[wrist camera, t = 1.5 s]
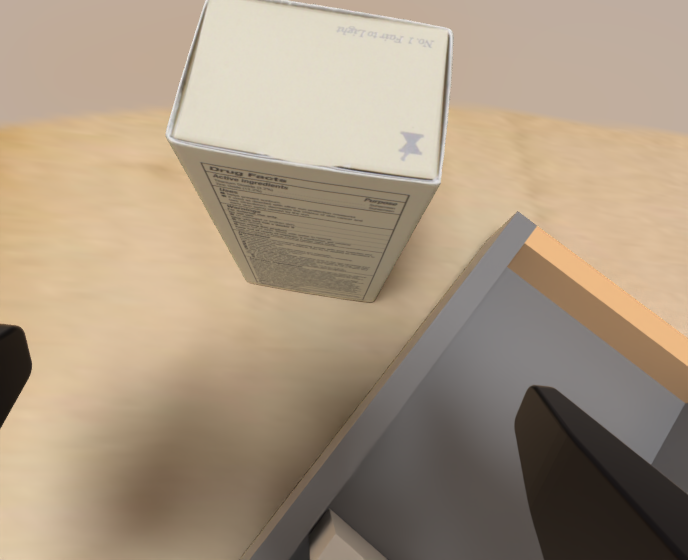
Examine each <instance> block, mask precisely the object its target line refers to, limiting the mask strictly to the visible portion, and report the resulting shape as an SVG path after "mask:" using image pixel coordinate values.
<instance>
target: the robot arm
mask: <svg viewBox="0 0 688 560" xmlns="http://www.w3.org/2000/svg"><path fill="white" fill-rule="evenodd" d="M31 370H32V361H31V357H30V353H29V349H28V344H27V340H26V336H25V333H24V331H23V329H22V328H21V327H19V326H16V325H8V324H0V428H1V427H2V425H3V423H4V421H5V420H6V418H7V416H8V414H9V412H10V411H11V409H12V407H13V405H14V404H15V402H16V400H17V398H18V396H19V395H20V393H21V391H22V389H23V387H24V386H25V384H26V382H27V380H28V379H29V376H30V374H31ZM514 430H515V436H516V441H517V447H518V452H519V457H520V463H521V468H522V474H523V479H524V485H525V490H526V496H527V500H528V505H529V510H530V514H531V517H532V521H533V525H534V528H535V531H536V535H537V538H538V541H539V545H540V548H541V552H542V555H543V558H544V560H688V494H687V493H686V492H684V491H683V490H682V489H681V488H679V487H678V486H677V485H676V484H674V483H673V482H672V481H671V480H669V479H668V478H667V477H666V476H664V475H663V474H662V473H661V472H659V471H658V470H657V469H656V468H654V467H653V466H652V465H651V464H649V463H648V462H647V461H646V460H644V459H643V458H642V457H641V456H639V455H638V454H637V453H636V452H634V451H633V450H632V449H631V448H629V447H628V446H627V445H626V444H624V443H623V442H622V441H621V440H619V439H618V438H617V437H616V436H614V435H613V434H612V433H611V432H609V431H608V430H607V429H606V428H604V427H603V426H602V425H601V424H599V423H598V422H597V421H596V420H594V419H593V418H592V417H591V416H589V415H588V414H587V413H586V412H584V411H583V410H582V409H581V408H579V407H578V406H577V405H576V404H574V403H573V402H572V401H571V400H569V399H568V398H567V397H566V396H564V395H563V394H562V393H561V392H559V391H558V390H557V389H555V388H553V387H550V386H541V385H531V386H530V387H529V388H528V389H527V391H526V393H525V395H524V398H523V400H522V402H521V405H520V407H519V409H518V412H517V414H516V417H515V422H514Z"/></svg>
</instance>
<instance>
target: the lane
mask: <svg viewBox="0 0 688 560" xmlns="http://www.w3.org/2000/svg"><path fill="white" fill-rule="evenodd" d="M531 385H541V386H550V387H553V388H555V389H557V390H558V391H559V392H561V393H562V394H563V395H564V396H566V397H567V398H568V399H569V400H571V401H572V402H573V403H574V404H576V405H577V406H578V407H579V408H581V409H582V410H583V411H584V412H586V413H587V414H588V415H589V416H591V417H592V418H593V419H594V420H596V421H597V422H598V423H599V424H601V425H602V426H603V427H604V428H606V429H607V430H608V431H609V432H611V433H612V434H613V435H614V436H616V437H617V438H618V439H619V440H621V441H622V442H623V443H624V444H626V445H627V446H628V447H629V448H631V449H632V450H633V451H634V452H636V453H637V454H638V455H639V456H641V457H642V458H643V459H644V460H646V461H647V462H648V463H649V464H651V465H652V466H653V467H654V468H656V469H657V470H658V471H659V472H661V473H662V474H663V475H664V476H666V477H667V478H668V479H669V480H671V481H672V482H673V483H674V484H676V485H677V486H678V487H679V488H681V489H682V490H683V491H684V492H686V493H687V494H688V338H687V337H685V336H684V335H683V334H681V333H680V332H679V331H677V330H676V329H675V328H673V327H672V326H671V325H669V324H668V323H667V322H665V321H664V320H663V319H661V318H660V317H659V316H657V315H656V314H655V313H653V312H652V311H651V310H649V309H648V308H647V307H645V306H644V305H643V304H641V303H640V302H638V301H637V300H636V299H634V298H633V297H632V296H630V295H629V294H628V293H626V292H625V291H624V290H622V289H621V288H620V287H618V286H617V285H616V284H614V283H613V282H612V281H610V280H609V279H608V278H606V277H605V276H604V275H602V274H601V273H600V272H598V271H597V270H596V269H594V268H593V267H592V266H590V265H589V264H588V263H586V262H585V261H584V260H582V259H581V258H580V257H578V256H577V255H576V254H574V253H573V252H572V251H570V250H569V249H568V248H566V247H565V246H564V245H562V244H561V243H560V242H558V241H557V240H556V239H554V238H553V237H552V236H550V235H549V234H548V233H546V232H545V231H543V230H542V229H541V228H539V227H538V226H537V225H535V224H534V223H533V222H531V221H530V220H529V219H527V218H526V217H525V216H523V215H522V214H521V213H519V212H518V211H517V212H516V213H515V214H514V215H513V216H512V217H511V218H510V219H509V220H508V221H507V222H506V223H505V224H504V225H503V226H502V227H501V228H500V229H499V230H497V231H496V232H495V233H494V234H493V235H492V236H491V237H490V238H489V239H488V240H487V241H486V242H485V244H484V245H483V246H482V247H481V249H480V250H479V251H478V253H477V254H476V255H475V257H474V258H473V259H472V260H471V262H470V263H469V264H468V266H467V267H466V268H465V269H464V271H463V272H462V273H461V275H460V276H459V277H458V278H457V280H456V281H455V282H454V284H453V285H452V286H451V287H450V289H449V290H448V291H447V293H446V294H445V295H444V296H443V298H442V299H441V300H440V302H439V303H438V304H437V305H436V307H435V308H434V309H433V311H432V312H431V313H430V314H429V316H428V317H427V318H426V320H425V321H424V322H423V324H422V325H421V326H420V327H419V329H418V330H417V331H416V333H415V334H414V335H413V336H412V338H411V339H410V340H409V342H408V343H407V344H406V345H405V347H404V348H403V349H402V351H401V352H400V353H399V354H398V356H397V357H396V358H395V360H394V361H393V362H392V363H391V365H390V366H389V367H388V369H387V370H386V371H385V372H384V374H383V375H382V376H381V378H380V379H379V380H378V381H377V383H376V384H375V385H374V387H373V388H372V389H371V391H370V392H369V393H368V394H367V396H366V397H365V398H364V400H363V401H362V402H361V403H360V405H359V406H358V407H357V409H356V410H355V411H354V412H353V414H352V415H351V416H350V418H349V419H348V420H347V421H346V423H345V424H344V425H343V427H342V428H341V429H340V430H339V432H338V433H337V434H336V436H335V437H334V438H333V439H332V441H331V442H330V443H329V445H328V446H327V447H326V448H325V450H324V451H323V452H322V454H321V455H320V456H319V458H318V459H317V460H316V461H315V463H314V464H313V465H312V467H311V468H310V469H309V470H308V472H307V473H306V474H305V476H304V477H303V478H302V479H301V481H300V482H299V483H298V485H297V486H296V487H295V488H294V490H293V491H292V492H291V494H290V495H289V496H288V497H287V499H286V500H285V501H284V503H283V504H282V505H281V506H280V508H279V509H278V510H277V512H276V513H275V514H274V516H273V517H272V518H271V519H270V521H269V522H268V523H267V525H266V526H265V527H264V528H263V530H262V531H261V532H260V534H259V535H258V536H257V537H256V539H255V540H254V541H253V543H252V544H251V545H250V546H249V548H248V549H247V550H246V552H245V553H244V554H243V555H242V557H241V558H240V559H239V560H310V550H309V535H310V533H311V532H312V531H313V529H314V528H315V527H316V525H317V524H318V523H319V521H320V520H321V519H322V517H323V516H324V515H325V513H326V512H327V510H328V509H329V508H330V509H331V510H332V511H333V512H334V513H335V514H337V515H338V516H339V517H340V518H341V519H342V520H343V521H344V522H346V523H347V524H348V525H349V526H350V527H351V528H352V529H354V530H355V531H356V532H357V533H358V534H359V535H360V536H361V537H363V538H364V539H365V540H366V541H367V542H368V543H369V544H371V545H372V546H373V547H374V548H375V549H376V550H377V551H378V552H380V553H381V554H382V555H383V556H384V557H385V558H386V559H388V560H544V558H543V555H542V552H541V548H540V545H539V541H538V538H537V535H536V531H535V528H534V525H533V521H532V517H531V514H530V510H529V505H528V500H527V496H526V490H525V485H524V479H523V474H522V468H521V463H520V457H519V452H518V447H517V441H516V436H515V430H514V422H515V417H516V414H517V412H518V409H519V407H520V405H521V402H522V400H523V398H524V395H525V393H526V391H527V389H528V388H529V387H530V386H531Z"/></svg>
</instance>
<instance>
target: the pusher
mask: <svg viewBox="0 0 688 560" xmlns="http://www.w3.org/2000/svg"><path fill="white" fill-rule="evenodd" d="M309 550H310V560H388V559H386V558H385V557H384V556H383V555H382V554H381V553H380V552H378V551H377V550H376V549H375V548H374V547H373V546H372V545H371V544H369V543H368V542H367V541H366V540H365V539H364V538H363V537H361V536H360V535H359V534H358V533H357V532H356V531H355V530H354V529H352V528H351V527H350V526H349V525H348V524H347V523H346V522H344V521H343V520H342V519H341V518H340V517H339V516H338V515H337V514H335V513H334V512H333V511H332V510H331V509H330V508H329V509H328V510H327V512H326V513H325V515H324V516H323V517H322V519H321V520H320V521H319V523H318V524H317V525H316V527H315V528H314V529H313V531H312V532H311V533H310V535H309Z"/></svg>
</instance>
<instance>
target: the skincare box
mask: <svg viewBox="0 0 688 560" xmlns="http://www.w3.org/2000/svg"><path fill="white" fill-rule="evenodd" d="M453 39H454V37H453V32H452V31H451V29H448V28H445V27H440V26H434V25H429V24H425V23H419V22H414V21H410V20H405V19H399V18H391V17H386V16H381V15H373V14H367V13H363V12H356V11H350V10H345V9H340V8H331V7H324V6H319V5H315V4H307V3H300V2H294V1H288V0H205V3H204V6H203V10H202V13H201V16H200V19H199V22H198V25H197V28H196V31H195V35H194V38H193V41H192V44H191V47H190V51H189V54H188V57H187V60H186V64H185V67H184V71H183V74H182V77H181V80H180V83H179V86H178V90H177V94H176V97H175V101H174V105H173V108H172V112H171V115H170V118H169V122H168V126H167V129H166V138H167V140H168V142H169V143H170V145H171V147H172V149H173V150H174V152H175V154H176V156H177V157H178V159H179V161H180V163H181V165H182V166H183V168H184V170H185V172H186V174H187V175H188V177H189V179H190V181H191V182H192V184H193V186H194V188H195V190H196V191H197V193H198V195H199V197H200V199H201V200H202V202H203V204H204V206H205V208H206V210H207V211H208V213H209V215H210V217H211V219H212V220H213V222H214V224H215V226H216V228H217V229H218V231H219V233H220V235H221V236H222V238H223V240H224V242H225V244H226V245H227V247H228V249H229V251H230V253H231V254H232V256H233V258H234V260H235V262H236V264H237V265H238V267H239V269H240V271H241V272H242V274H243V276H244V278H245V280H246V281H247V282H249V283H253V284H258V285H263V286H269V287H274V288H279V289H285V290H291V291H297V292H303V293H309V294H316V295H322V296H328V297H334V298H341V299H348V300H356V301H363V302H374V301H375V299H376V297H377V296H378V294H379V292H380V290H381V288H382V286H383V285H384V283H385V281H386V279H387V277H388V276H389V274H390V272H391V270H392V269H393V267H394V265H395V263H396V261H397V260H398V258H399V256H400V254H401V252H402V251H403V249H404V247H405V245H406V244H407V242H408V240H409V238H410V236H411V235H412V233H413V231H414V229H415V227H416V226H417V224H418V222H419V220H420V219H421V217H422V215H423V213H424V212H425V210H426V208H427V206H428V205H429V203H430V201H431V199H432V198H433V196H434V194H435V192H436V191H437V189H438V187H439V185H440V183H441V175H442V166H443V159H444V148H445V140H446V132H447V124H448V110H449V101H450V90H451V78H452V59H453Z"/></svg>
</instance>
